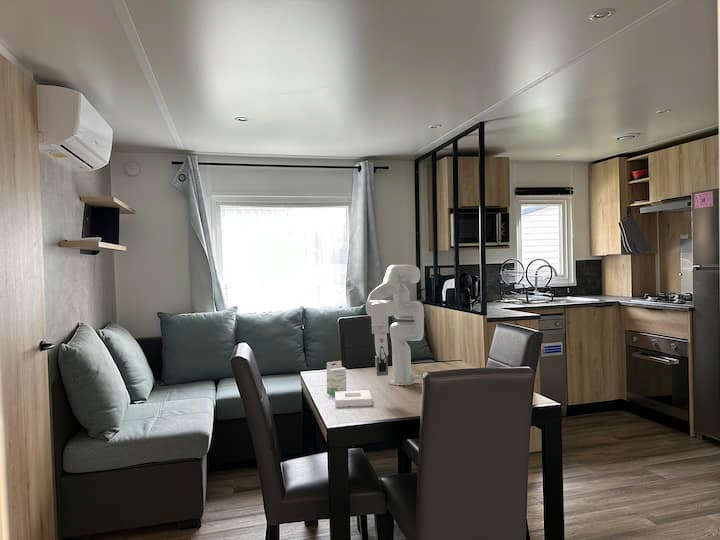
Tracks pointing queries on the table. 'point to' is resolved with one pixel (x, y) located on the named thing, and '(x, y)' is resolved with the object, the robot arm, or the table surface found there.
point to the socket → (353, 398)
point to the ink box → (336, 377)
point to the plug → (378, 366)
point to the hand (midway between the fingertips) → (381, 369)
